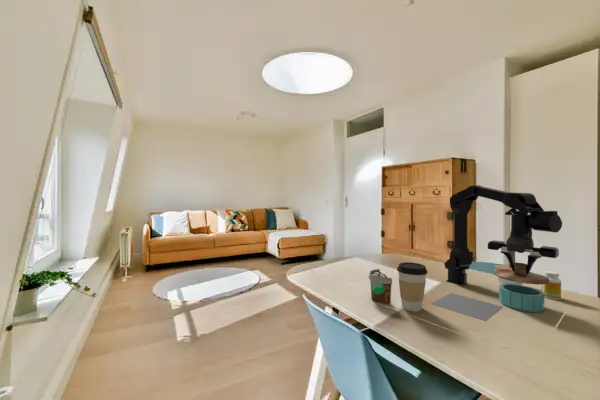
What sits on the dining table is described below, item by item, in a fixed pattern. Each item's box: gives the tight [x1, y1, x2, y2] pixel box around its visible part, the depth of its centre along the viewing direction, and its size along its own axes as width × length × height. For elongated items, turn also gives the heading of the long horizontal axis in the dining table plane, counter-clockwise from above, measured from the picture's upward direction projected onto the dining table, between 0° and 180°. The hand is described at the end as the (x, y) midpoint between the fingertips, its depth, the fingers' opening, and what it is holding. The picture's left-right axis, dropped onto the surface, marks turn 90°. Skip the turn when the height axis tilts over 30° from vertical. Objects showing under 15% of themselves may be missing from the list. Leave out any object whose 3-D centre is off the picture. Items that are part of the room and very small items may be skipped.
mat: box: [430, 292, 503, 322], centre depth 95 cm, size 17×17×1 cm
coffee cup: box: [396, 261, 429, 312], centre depth 93 cm, size 10×10×15 cm
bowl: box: [498, 283, 545, 313], centre depth 95 cm, size 12×12×6 cm
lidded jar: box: [494, 263, 524, 285], centre depth 117 cm, size 11×11×9 cm
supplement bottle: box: [541, 270, 562, 301], centre depth 104 cm, size 5×5×10 cm
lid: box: [493, 262, 549, 285], centre depth 95 cm, size 15×15×5 cm
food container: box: [368, 268, 393, 305], centre depth 101 cm, size 12×6×10 cm, turn 5°
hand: (520, 272), depth 95 cm, fingers closed on lid, 3 cm apart
